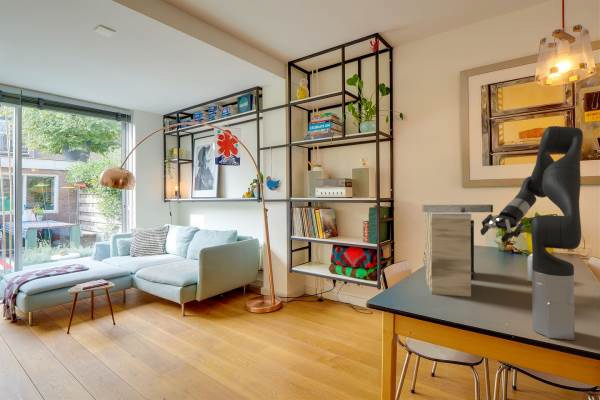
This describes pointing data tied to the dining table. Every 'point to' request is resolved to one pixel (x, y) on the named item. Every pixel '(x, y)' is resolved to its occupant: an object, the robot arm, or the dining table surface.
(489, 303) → the dining table surface
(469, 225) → the stand
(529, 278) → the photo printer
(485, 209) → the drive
